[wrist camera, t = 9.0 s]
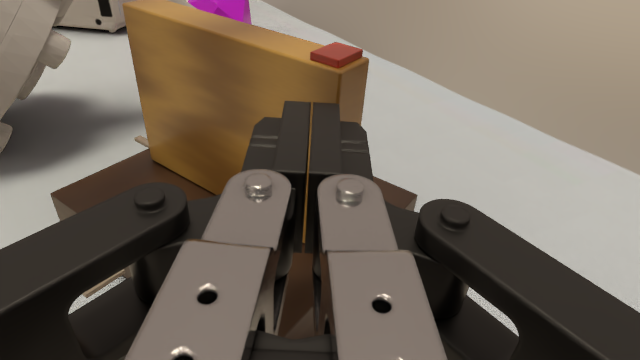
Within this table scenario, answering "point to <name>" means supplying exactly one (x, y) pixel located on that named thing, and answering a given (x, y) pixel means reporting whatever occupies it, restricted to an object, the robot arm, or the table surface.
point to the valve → (30, 48)
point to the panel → (146, 170)
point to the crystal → (225, 8)
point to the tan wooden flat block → (227, 85)
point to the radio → (95, 14)
